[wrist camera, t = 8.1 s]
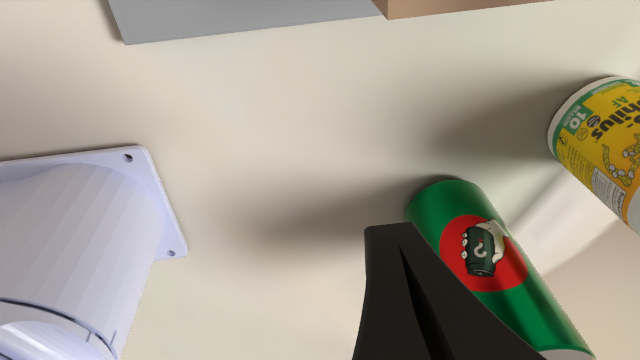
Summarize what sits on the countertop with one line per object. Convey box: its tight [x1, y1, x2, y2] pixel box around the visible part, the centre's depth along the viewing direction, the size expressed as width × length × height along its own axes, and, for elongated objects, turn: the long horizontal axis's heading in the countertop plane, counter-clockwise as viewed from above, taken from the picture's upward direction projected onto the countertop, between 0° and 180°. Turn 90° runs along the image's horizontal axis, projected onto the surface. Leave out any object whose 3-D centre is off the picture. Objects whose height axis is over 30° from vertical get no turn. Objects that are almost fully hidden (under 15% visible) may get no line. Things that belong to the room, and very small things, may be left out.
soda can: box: [404, 180, 596, 360], centre depth 20 cm, size 5×5×12 cm
